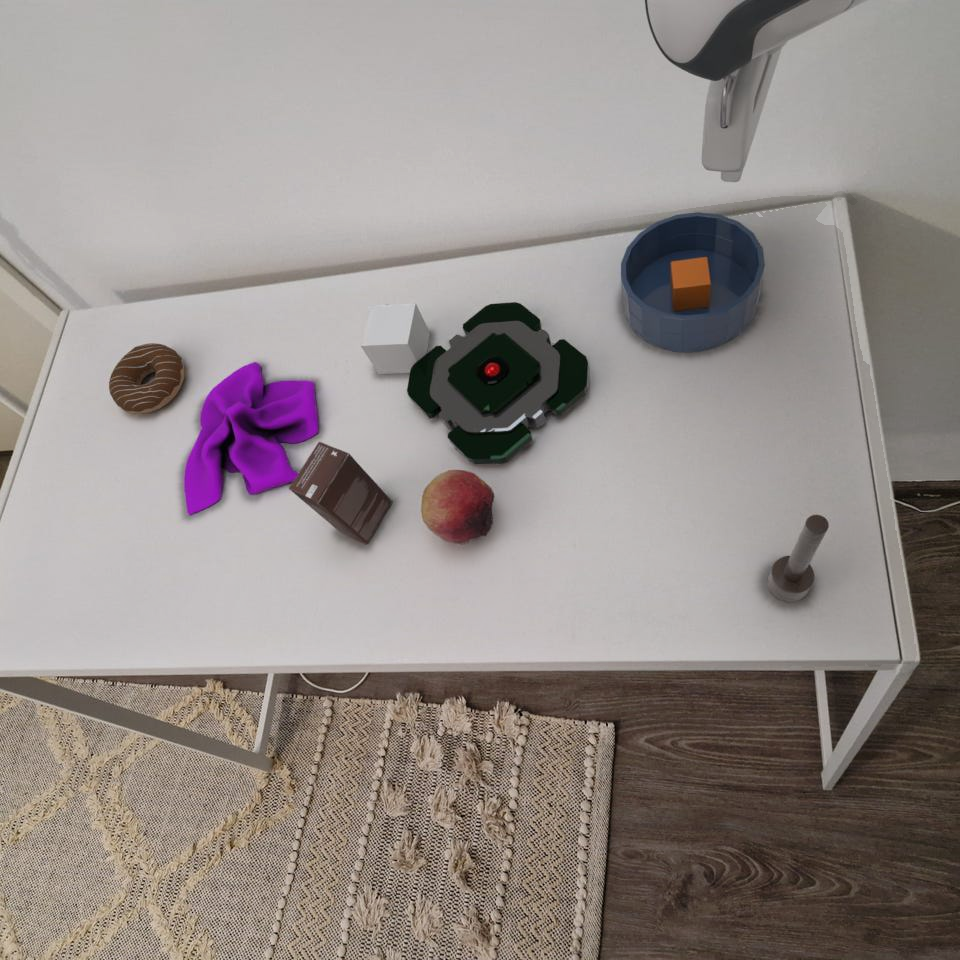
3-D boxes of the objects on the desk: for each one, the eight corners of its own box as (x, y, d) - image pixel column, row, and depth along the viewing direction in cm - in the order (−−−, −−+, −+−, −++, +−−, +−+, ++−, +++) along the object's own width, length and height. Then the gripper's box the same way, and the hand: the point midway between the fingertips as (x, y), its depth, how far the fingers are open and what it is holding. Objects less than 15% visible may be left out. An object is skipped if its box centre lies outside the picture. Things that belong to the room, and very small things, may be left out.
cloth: (227, 360, 97) (202, 332, 91) (344, 377, 90) (324, 349, 85) (152, 505, 89) (118, 484, 83) (274, 535, 82) (246, 515, 77)
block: (705, 280, 83) (707, 256, 80) (709, 307, 81) (710, 284, 78) (670, 284, 84) (670, 261, 80) (673, 311, 82) (673, 288, 79)
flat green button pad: (489, 484, 79) (479, 466, 75) (399, 392, 87) (386, 371, 83) (607, 384, 81) (604, 360, 77) (508, 303, 89) (500, 279, 85)
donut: (150, 347, 101) (132, 330, 98) (204, 363, 97) (187, 346, 94) (107, 408, 98) (87, 392, 94) (161, 427, 94) (142, 412, 90)
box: (363, 488, 82) (318, 438, 72) (394, 502, 81) (352, 453, 70) (335, 532, 81) (285, 488, 70) (366, 547, 79) (320, 504, 68)
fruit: (457, 479, 80) (437, 446, 73) (515, 505, 77) (500, 472, 70) (422, 537, 78) (397, 508, 71) (480, 566, 75) (461, 539, 68)
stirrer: (812, 572, 66) (847, 509, 53) (804, 607, 65) (838, 552, 52) (772, 561, 68) (797, 497, 55) (763, 595, 67) (787, 538, 54)
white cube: (423, 372, 88) (407, 344, 82) (378, 374, 89) (360, 346, 84) (430, 333, 90) (415, 302, 85) (386, 335, 92) (369, 305, 87)
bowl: (771, 258, 83) (778, 220, 78) (740, 363, 78) (745, 330, 73) (644, 242, 88) (643, 206, 83) (607, 339, 83) (603, 307, 78)
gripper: (768, 83, 53) (753, 223, 64) (819, -80, 60) (797, 73, 72) (683, 82, 55) (683, 218, 67) (742, -74, 62) (733, 73, 74)
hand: (743, 142), depth 69 cm, fingers open, 8 cm apart
